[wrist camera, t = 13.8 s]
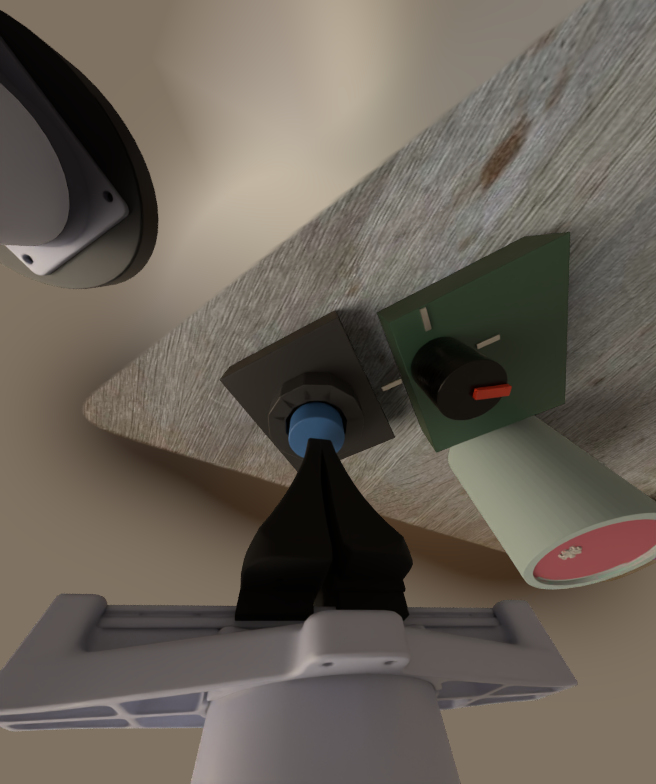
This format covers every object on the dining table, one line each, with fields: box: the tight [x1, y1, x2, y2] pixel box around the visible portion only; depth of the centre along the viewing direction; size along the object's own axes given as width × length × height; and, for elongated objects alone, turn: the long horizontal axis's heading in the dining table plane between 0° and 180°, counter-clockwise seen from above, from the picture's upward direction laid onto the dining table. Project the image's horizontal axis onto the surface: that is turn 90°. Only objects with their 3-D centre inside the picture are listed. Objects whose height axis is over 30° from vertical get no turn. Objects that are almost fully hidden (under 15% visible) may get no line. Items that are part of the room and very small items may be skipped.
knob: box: [411, 337, 512, 421], centre depth 13 cm, size 4×4×4 cm
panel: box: [377, 232, 570, 452], centre depth 17 cm, size 12×12×3 cm
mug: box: [448, 416, 656, 589], centre depth 20 cm, size 14×9×10 cm
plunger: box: [288, 402, 345, 458], centre depth 16 cm, size 4×4×2 cm
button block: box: [220, 311, 395, 472], centre depth 18 cm, size 11×9×4 cm
